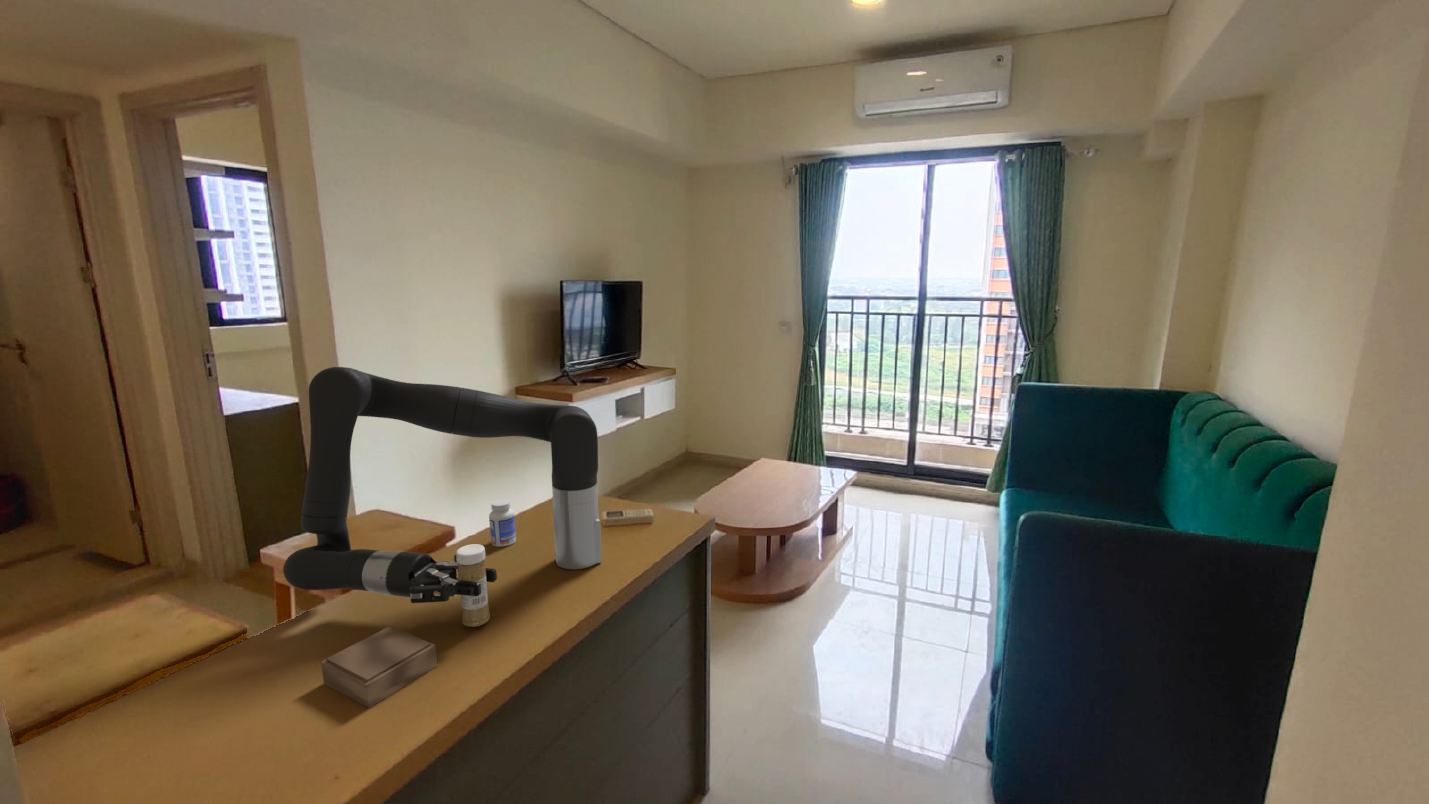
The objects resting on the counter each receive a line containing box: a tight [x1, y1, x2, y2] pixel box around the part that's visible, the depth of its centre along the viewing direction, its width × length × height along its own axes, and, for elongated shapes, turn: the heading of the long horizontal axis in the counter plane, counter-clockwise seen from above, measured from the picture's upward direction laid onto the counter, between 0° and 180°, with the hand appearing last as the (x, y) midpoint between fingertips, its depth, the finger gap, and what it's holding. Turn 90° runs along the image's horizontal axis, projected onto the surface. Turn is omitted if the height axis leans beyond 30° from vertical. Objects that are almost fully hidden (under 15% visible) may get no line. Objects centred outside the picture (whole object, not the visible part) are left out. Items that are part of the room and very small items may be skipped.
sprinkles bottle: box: [455, 543, 491, 628], centre depth 105 cm, size 5×5×13 cm
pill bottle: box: [488, 499, 517, 548], centre depth 140 cm, size 5×5×10 cm
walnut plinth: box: [320, 625, 438, 709], centre depth 93 cm, size 11×11×4 cm
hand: (487, 582), depth 105 cm, fingers closed on sprinkles bottle, 4 cm apart
